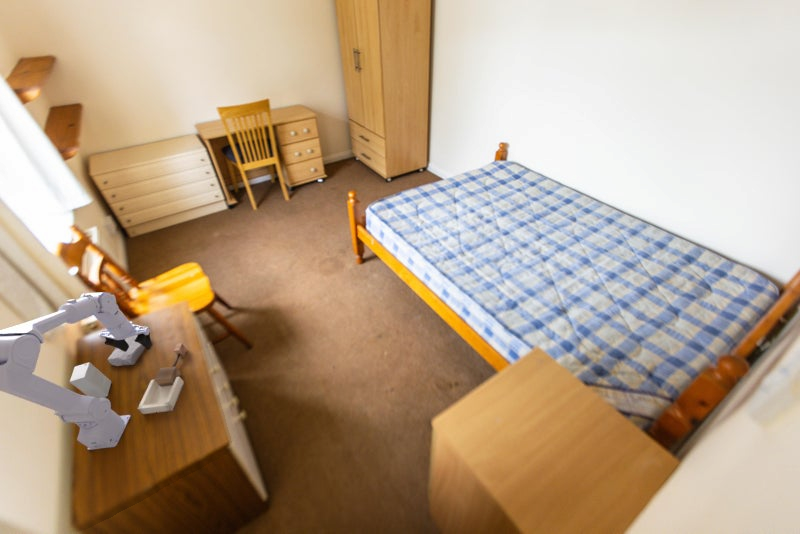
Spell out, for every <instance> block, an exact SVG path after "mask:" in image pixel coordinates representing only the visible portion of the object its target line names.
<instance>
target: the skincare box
mask: <svg viewBox="0 0 800 534" xmlns="http://www.w3.org/2000/svg"><path fill="white" fill-rule="evenodd" d="M69 383H70V384H71V385H72V386H74V387H75V388H77V389H78V390H79V391H80V392H81V393H83V395H85V396H91V397H96V398H107V397H108V396H109V391H110V389H111V384H112V380H110V379H109V378H108V377H107V376H106V375H105V374H103V373H102V372H101V371H100V370H99V369H98V368H97V367H95V365H94V364H92V363H91V362H85V363H82V364H79V365H76V366H74V368H73V371H72V374H71V377H70V379H69Z"/></svg>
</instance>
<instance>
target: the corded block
mask: <svg viewBox="0 0 800 534" xmlns="http://www.w3.org/2000/svg"><path fill="white" fill-rule="evenodd" d="M187 351H188V349H187V347H186V346H185V345H184V343H181V342H180V343H176V345H175V348H174V349H173V352H174V353H175V354H176V358H175V361H174V362H173V364H172V366H168V367H160V368H159V370H158V373H157V374H156V377H155V381H156V382H157V383H158V384H159V385H160V387H162V386H171V385H173V384H174V381H175V379H176V377H180V378H181V374H182V373H181V371H180V370H179V368H177V367H176V366H177V365H178V364H177V363H178V362H179V360H180V358H184V357H185V356H186V354H187Z"/></svg>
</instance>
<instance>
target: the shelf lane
mask: <svg viewBox="0 0 800 534" xmlns="http://www.w3.org/2000/svg"><path fill="white" fill-rule="evenodd" d="M184 384H185V381H184V380H183V379H182V378H181V376H180V377H176V379H175V381H174V384H173V385H171V386H162V387H160V385H159V384H158V383H157V382H156V381H155V379H151V380H150V382H149V383H148V386H147V387H146V388H147V389H146V390H145V392H144V394H143V397H142V399H141V401H140V402H139V405H138V407H137V410H138V411H139V412H140V413H141V414H143V415H147V414H157V413H165V412H173V411H174V409H175V406H176V403H177V401H178V399H179V397H180V394H181V392H182V389H183V386H184ZM156 412H157V413H156Z"/></svg>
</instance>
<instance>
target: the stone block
mask: <svg viewBox="0 0 800 534" xmlns="http://www.w3.org/2000/svg"><path fill="white" fill-rule="evenodd" d="M137 336H138V335H135V336H132V337H129V338H126V339H124V340H125V341H126V342H127V343H128V345H129V348H128V350H127V351H126V352H124V351H122V350H120V349H118V348H116V347H114V350H113V351H112V353H111V354H110V355H109V357H108V358H107V361H108V362H109V363H110V364H111V365H112V366H114V367H115V366H116V367H120V366H121V367H122V366H130V365H131V366H132V365H135V364H136V363H137V361H138V359H139V358H140V356H141V355H142V354H143V352H144V351H145V350H146V348H145V347H144V346H143V345H141V344H140V343H138V342H135V339H136V337H137Z"/></svg>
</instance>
